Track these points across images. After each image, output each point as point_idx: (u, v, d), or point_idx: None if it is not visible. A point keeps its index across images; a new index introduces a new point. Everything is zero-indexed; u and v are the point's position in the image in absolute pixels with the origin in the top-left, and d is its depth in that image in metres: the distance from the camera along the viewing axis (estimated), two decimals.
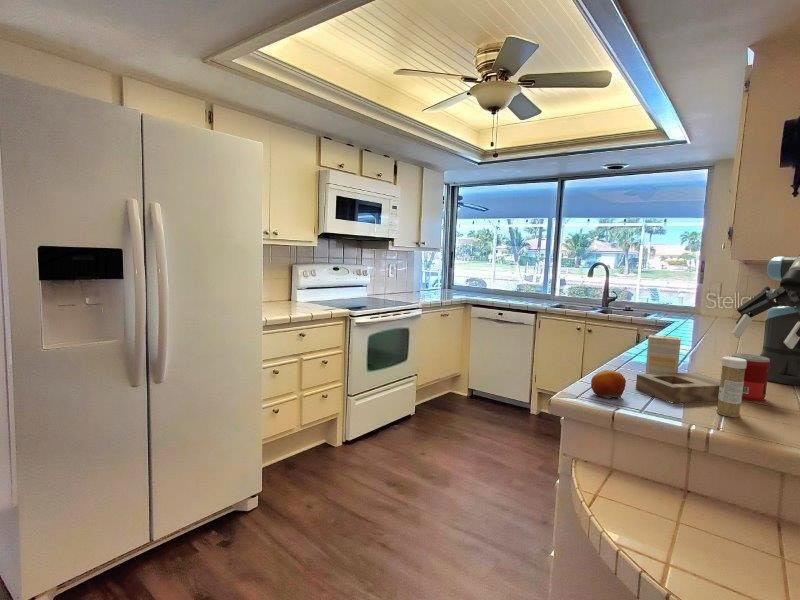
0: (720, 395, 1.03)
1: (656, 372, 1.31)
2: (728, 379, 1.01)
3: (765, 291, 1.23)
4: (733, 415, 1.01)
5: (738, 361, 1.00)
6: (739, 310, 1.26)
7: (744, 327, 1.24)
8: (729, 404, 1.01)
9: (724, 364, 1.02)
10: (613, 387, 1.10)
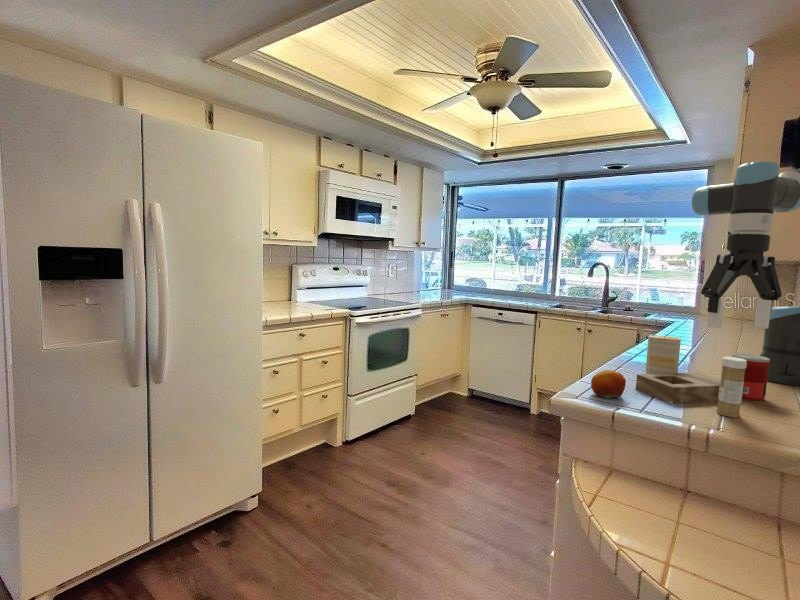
0: (720, 395, 1.03)
1: (656, 372, 1.31)
2: (728, 379, 1.01)
3: (729, 262, 0.97)
4: (733, 415, 1.01)
5: (738, 361, 1.00)
6: (713, 294, 0.97)
7: None
8: (729, 404, 1.01)
9: (724, 364, 1.02)
10: (613, 387, 1.10)
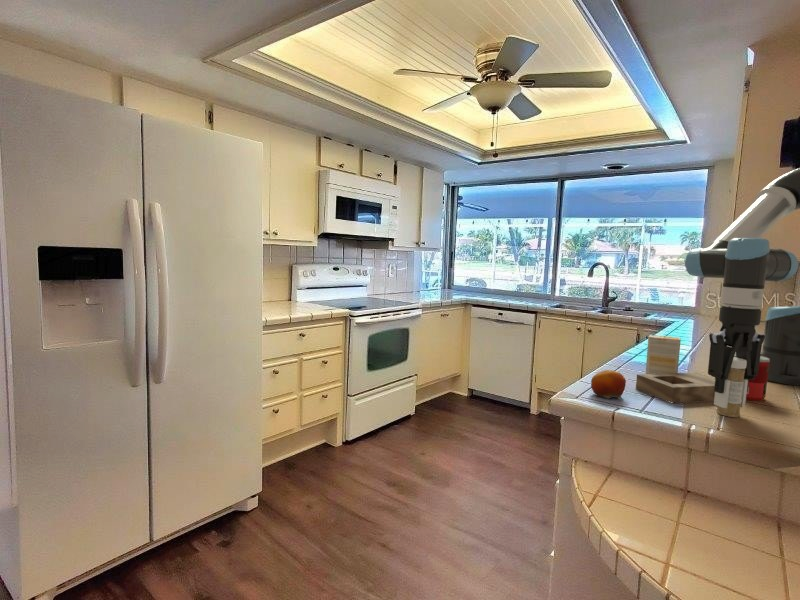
0: None
1: (656, 372, 1.31)
2: (728, 379, 1.01)
3: (723, 341, 0.99)
4: (733, 415, 1.01)
5: (738, 361, 1.00)
6: (720, 375, 1.00)
7: None
8: (729, 404, 1.01)
9: None
10: (613, 387, 1.10)
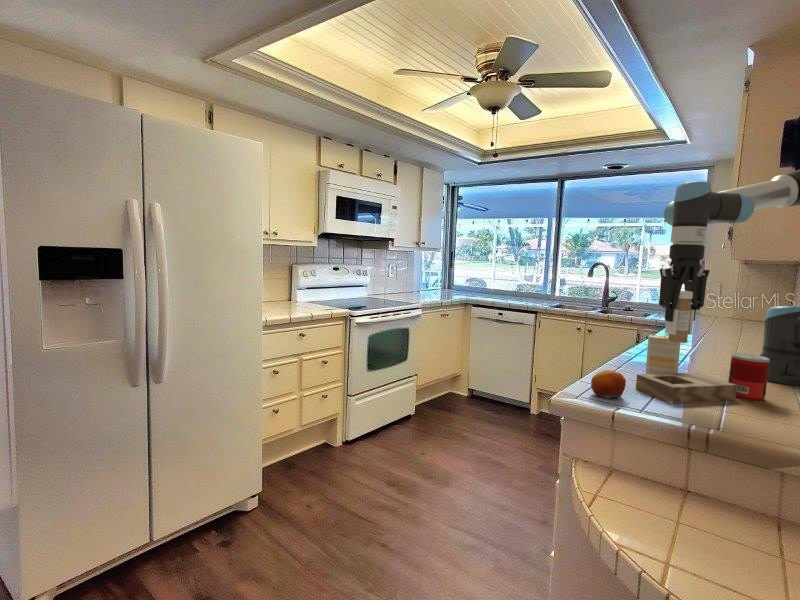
0: None
1: (656, 372, 1.31)
2: (677, 309, 1.14)
3: (671, 274, 1.12)
4: (681, 341, 1.14)
5: (685, 292, 1.13)
6: (669, 305, 1.13)
7: None
8: (678, 331, 1.14)
9: None
10: (613, 387, 1.10)
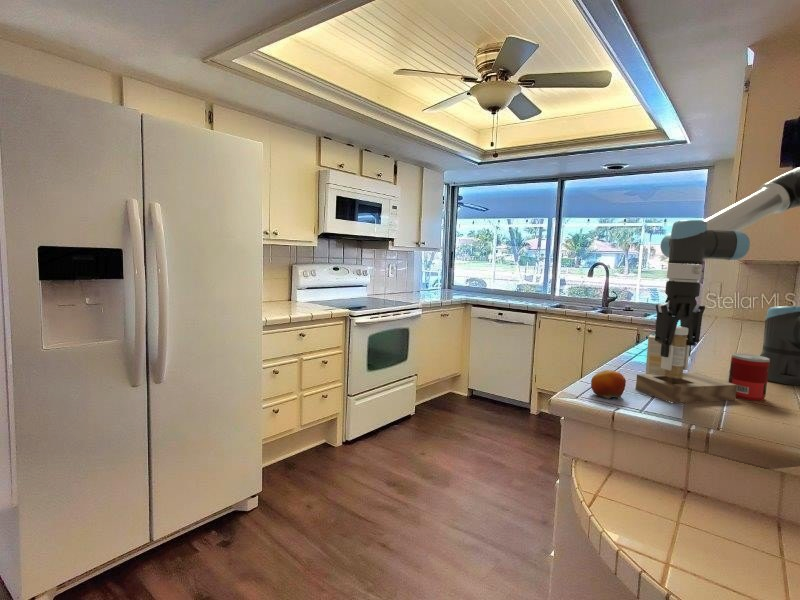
0: None
1: (656, 372, 1.31)
2: (672, 344, 1.15)
3: (667, 310, 1.13)
4: (676, 376, 1.15)
5: (680, 328, 1.14)
6: (664, 341, 1.14)
7: None
8: (673, 366, 1.15)
9: None
10: (613, 387, 1.10)
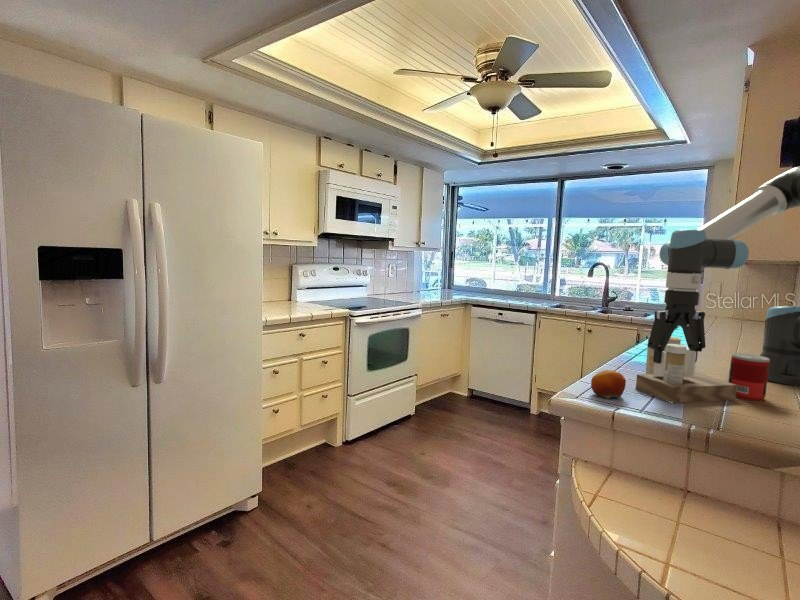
0: (664, 377, 1.17)
1: None
2: (671, 363, 1.16)
3: (665, 318, 1.13)
4: None
5: (679, 347, 1.14)
6: (657, 347, 1.14)
7: None
8: None
9: (667, 350, 1.16)
10: (613, 387, 1.10)
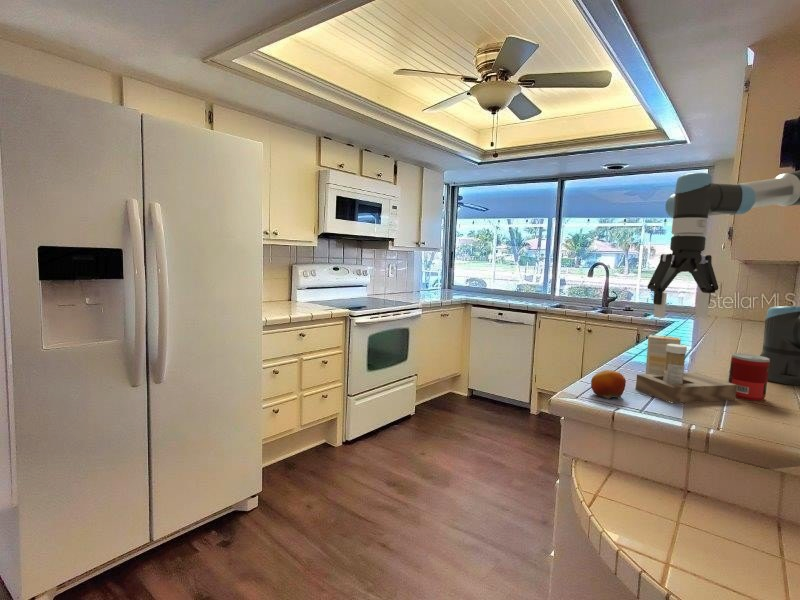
0: (664, 377, 1.17)
1: (656, 372, 1.31)
2: (671, 363, 1.16)
3: (670, 260, 1.12)
4: None
5: (679, 347, 1.14)
6: (657, 288, 1.12)
7: None
8: None
9: (667, 350, 1.16)
10: (613, 387, 1.10)
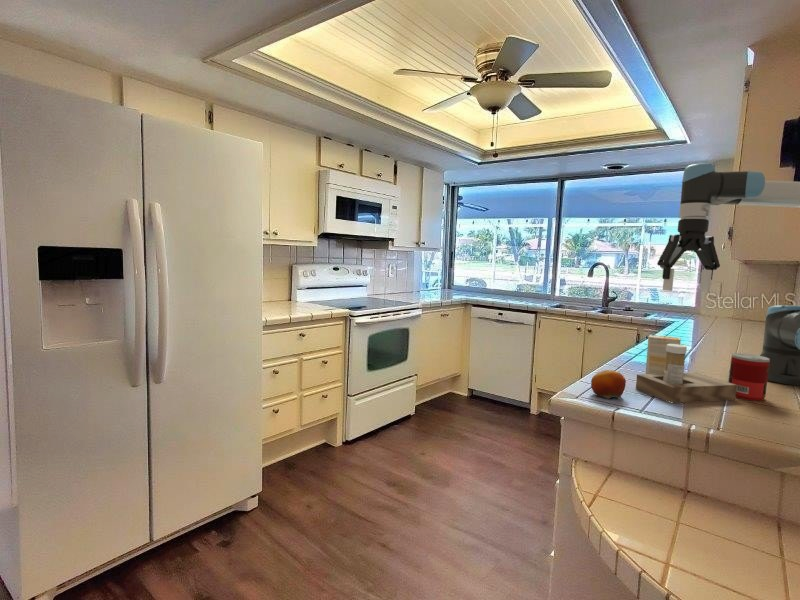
0: (664, 377, 1.17)
1: (656, 372, 1.31)
2: (671, 363, 1.16)
3: (678, 240, 1.28)
4: None
5: (679, 347, 1.14)
6: (665, 264, 1.28)
7: None
8: None
9: (667, 350, 1.16)
10: (613, 387, 1.10)
